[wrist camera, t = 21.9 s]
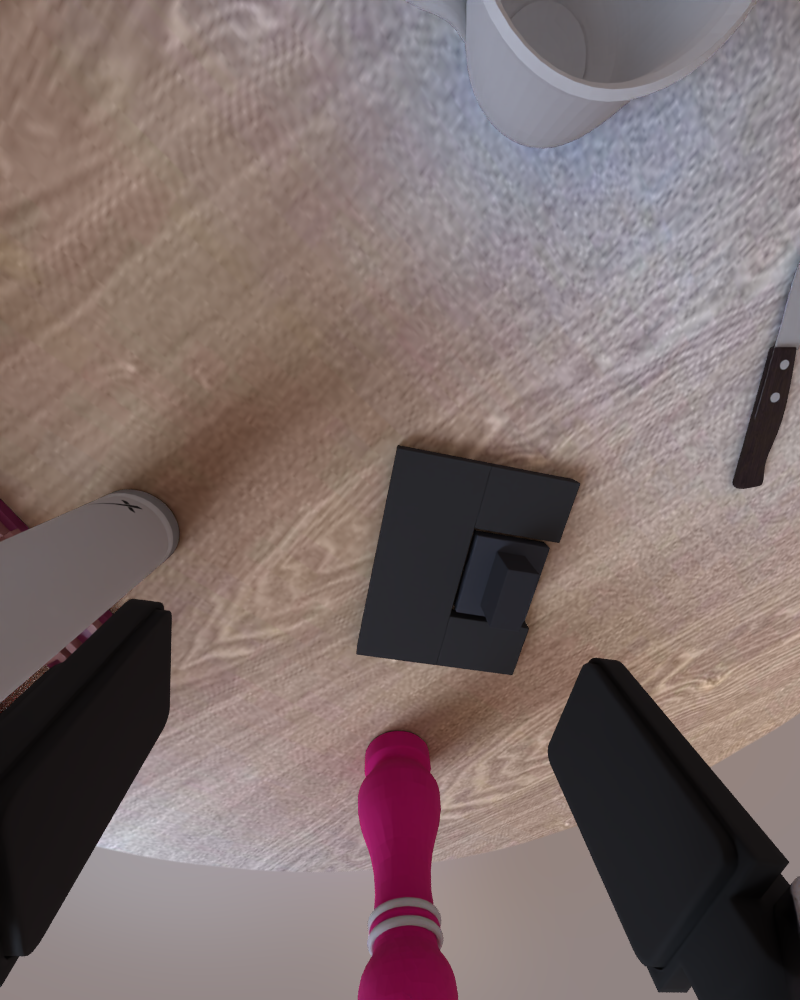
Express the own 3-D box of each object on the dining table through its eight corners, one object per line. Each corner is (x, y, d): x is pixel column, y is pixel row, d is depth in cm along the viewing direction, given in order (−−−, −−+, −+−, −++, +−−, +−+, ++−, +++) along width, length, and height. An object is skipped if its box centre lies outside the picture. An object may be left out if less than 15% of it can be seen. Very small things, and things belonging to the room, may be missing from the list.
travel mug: (143, 469, 28) (-337, 662, 9) (197, 543, 30) (-109, 824, 11) (74, 507, 29) (-507, 759, 10) (131, 576, 31) (-264, 897, 12)
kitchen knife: (764, 489, 30) (739, 489, 30) (753, 486, 31) (729, 486, 31) (845, 214, 25) (814, 214, 25) (828, 220, 26) (799, 220, 26)
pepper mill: (345, 760, 38) (310, 1144, 19) (391, 714, 37) (403, 1081, 18) (402, 790, 40) (421, 1171, 21) (448, 747, 38) (516, 1116, 19)
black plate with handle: (474, 529, 31) (487, 552, 27) (544, 541, 32) (567, 565, 28) (453, 604, 33) (463, 635, 29) (519, 614, 34) (538, 646, 30)
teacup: (374, -70, 20) (369, -460, 11) (650, -59, 21) (874, -418, 11) (380, 203, 24) (379, 91, 15) (614, 206, 25) (760, 101, 15)
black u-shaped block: (397, 444, 29) (398, 447, 28) (573, 479, 30) (580, 483, 29) (357, 645, 34) (356, 654, 33) (508, 666, 36) (512, 675, 34)
